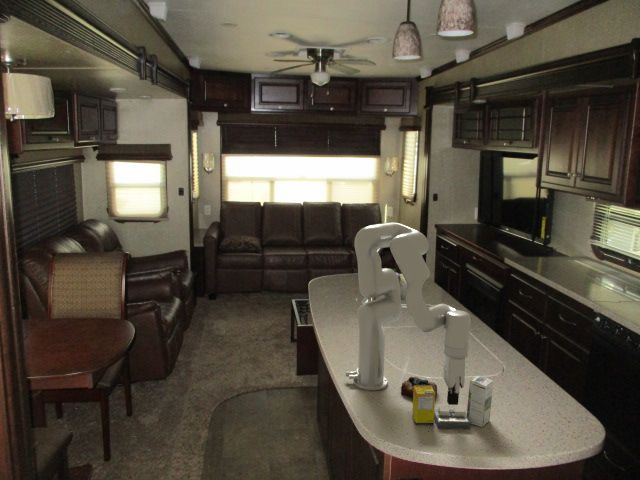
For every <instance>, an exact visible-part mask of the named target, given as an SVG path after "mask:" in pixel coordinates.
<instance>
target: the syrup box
mask: <svg viewBox="0 0 640 480" xmlns="http://www.w3.org/2000/svg"><path fill="white" fill-rule="evenodd" d="M493 387H494V380H492V379H490V378H488V377H485V376H481V375H477V376H475V377H473V379H472V380H470V381H469V386H468V395H467V396H468V397H467V398H468V399H467V406H466V407H467V409H466V415H467V417H468V419H469V421H470V425H471V424H472V425H475V426H477V427H480V428H483V427H485V425H487V423H489V421H490V418H491V410H492V398H493V392H494V391H493V389H494V388H493Z"/></svg>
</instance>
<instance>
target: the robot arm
mask: <svg viewBox="0 0 640 480" xmlns="http://www.w3.org/2000/svg"><path fill="white" fill-rule="evenodd" d="M429 246H430V244H429V239H428V238H427V237H426V235H424V234H423V233H422V232H421V231H419V230H417V229H414V228H412V227H410V226H406V225H404V224H402V223H398V222H385V223H377V224H376V223H375V224H370V225H368V226H365V227H363V228H360V229H359V231H358V232H357V233H356V235H355V237H354V249H355V250H354V251H355V255H356V261H357V273H358V287H359V292H360V294H361V295H362V296H363V298H367V299H372V300H369V301H367V302H364V303H363V304H361V305H360V306H359V307H358V309H357V312H356V317H357V323H358V358H357V359H358V363H357V368H356V370H354V371H351V370H350V371H347V370H345V377H346V378H347V377H348V379H349V380H353V384H354V385H355V386H356V387H357V388H359V389H361V390H364V391H379V390H383V389H385V388H386V387H387V386H388V379H387V378H386V377H385V376H384V374H385V372H384V371H385V354H386V353H385V350H386V337H385V333H384V331H383V330H382V326H385V325H388V324H391V323H394V322H396V321H397V320H398V319H399V318H400V317H401V312H402V301H401V300H402V299H401V298H402V297H401V282H400V283H399V279H398V276H397V274H396V273H395V272H394V271H393V270H392V269H393V268H390V267H389V268H387V267H384V268H382V259H381V256H380V253H379V252H378V251H377V250H379V249H383V248H389V249H390V252H391V254H392V256H393V258H394V260H395V262H396V265H397V267H398V268H399V271H400V272H401V274H402V277H403V278H404V281H405V282H406V287H405V304H406V308H407V311H408V313H409V315H410V317H411V318H412V319H411V320H412V321H413V323H414V324H415V326H416V327H417V328H418V330H420V331H421V332H423V333H431V332H435V331H437V330H441V329H444V343H443V354H444V357H443V358H444V359H443V368H442V378H443V380H444V383H445V385H446V387H447V395H446V396H447V397H446V399H447V400H446V402H447V404H448V405H449V406H457V405H458V404H459V399H460V394H461V393H460V390H461V389H463V388H464V387H465V378H466V377H465V376H466V358H467V357H469V348H470V347H469V346H470V336H471V335H470V333H471V319H472V318H471V314H470V313H468V312H467V311H464V310H458V309H456V308H454V307H453V306H452V305H449V304H446V303H438V304H436V305H435V304H434V305H431V306H427V304H426V302H425V299H424V297H423V286H424V283H425V282H426V280H428V278H429V276H430V275H431V272H430V271H431V270H430V269H429V267H428V266H427V263H426V262H425V259H424V257H423V255H425V254H427V252H428V250H429ZM378 297H379V298H378ZM373 298H378V299H373ZM460 388H461V389H460Z"/></svg>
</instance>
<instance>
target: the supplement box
mask: <svg viewBox="0 0 640 480" xmlns="http://www.w3.org/2000/svg"><path fill="white" fill-rule="evenodd" d="M435 405H436V396H435V392H434V390H433V388H432V386H414V392H413V399H412V411H411V412H412V418H413V421H414V424H415V425H416V426H418V425H419V426H420V425H421V426H424V425H425V426H426V425H430V426H431V425H432V426H433V425H434V423H435V419H434V409H436V408H435Z"/></svg>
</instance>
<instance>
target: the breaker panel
mask: <svg viewBox="0 0 640 480" xmlns="http://www.w3.org/2000/svg"><path fill="white" fill-rule="evenodd" d="M438 409H439V408H437V409H436V408H435V409H434V423H435V424H436V428H437V429H438V430H470V429H471V423H470V421H469V419H468V417H467V412H465V414H464V416H455V414H454V413H449V415H439V413H438ZM449 411H454V409H449Z"/></svg>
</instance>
